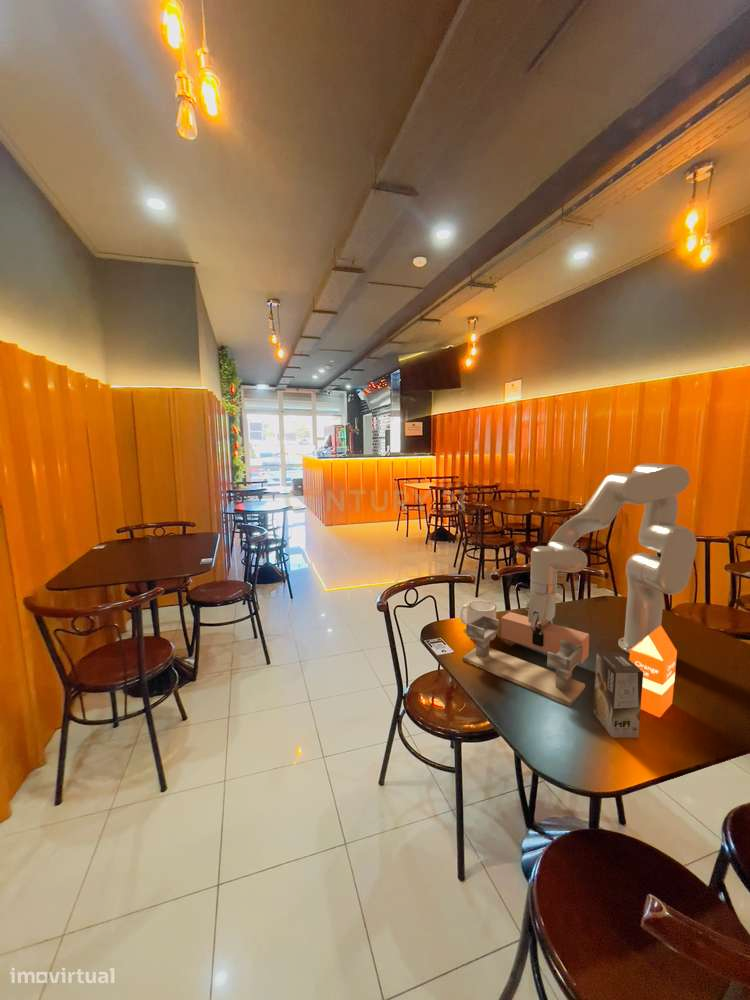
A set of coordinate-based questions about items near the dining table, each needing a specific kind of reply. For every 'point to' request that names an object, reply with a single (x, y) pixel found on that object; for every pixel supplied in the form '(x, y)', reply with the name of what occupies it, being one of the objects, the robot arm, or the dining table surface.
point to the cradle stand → (526, 664)
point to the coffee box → (618, 694)
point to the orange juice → (656, 670)
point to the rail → (521, 632)
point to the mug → (477, 611)
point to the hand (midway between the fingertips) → (542, 640)
